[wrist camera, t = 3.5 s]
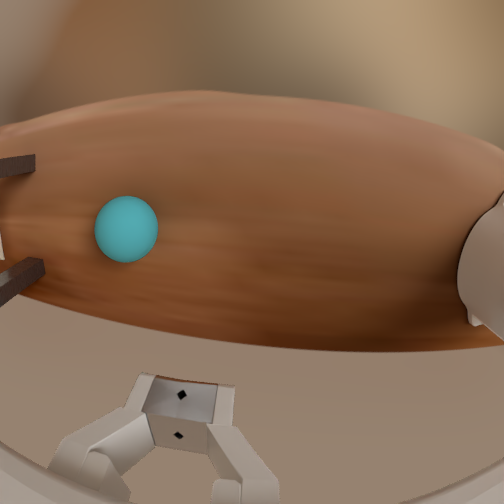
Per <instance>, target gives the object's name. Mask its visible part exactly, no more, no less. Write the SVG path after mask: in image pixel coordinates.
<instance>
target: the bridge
mask: <svg viewBox="0 0 504 504" xmlns="http://www.w3.org/2000/svg"><path fill="white" fill-rule="evenodd" d="M32 171H35V154H33V155H25V156H17V157H10V158H3V159H0V178H4V177H8V176H13V175H17V174H22V173H27V172H32ZM44 274H45V269H44V263H43V259H38V258H32V257H27V258H25V259H24V260H22V261H20V262H19V263H17V264H15V265H14V266H12V267H11V268H9V269H7V270H6V271H4V272H3V273H1V274H0V307H1V306H2V305H4V304H5V303H6V302H8V301H9V300H10V299H12V298H13V297H14V296H16V295H17V294H18V293H20V292H21V291H22V290H24V289H25V288H26V287H28V286H29V285H30V284H32V283H33V282H34V281H36V280H37V279H39V278H40V277H42V276H43V275H44Z"/></svg>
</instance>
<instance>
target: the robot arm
mask: <svg viewBox="0 0 504 504" xmlns="http://www.w3.org/2000/svg"><path fill="white" fill-rule="evenodd" d="M457 285H458V292H459V295H460V298H461V300H462V302H463V303H464V305H465V306H466V308H467V311H468V321H469V323H470V324H472V325H473V326H478V325H481V324H484V325H485V326H486V327H487V328H489V329H490V330H491V331H492V332H493V333H495V334H496V335H497V336H498V337H500V338H501V339H502V340H503V341H504V193H503V195H502V196H501V198H500V200H499V201H498V203H497V205H496V206H495V207H493V208H492V209H491V210H489V211H488V212H487V213H485V214H484V215H483V216H482V217H481V218H480V219H479V221H478V222H477V223H476V225H475V226H474V227H473V229H472V231H471V232H470V234H469V236H468V238H467V240H466V243H465V245H464V248H463V251H462V254H461V257H460V261H459V267H458V275H457ZM234 396H235V385H225V384H214V383H205V382H197V381H188V380H187V381H186V380H180V379H174V378H169V377H164V376H159V375H153V374H148V373H143V372H142V373H141V374H139V376H138V378H137V380H136V382H135V384H134V386H133V388H132V390H131V393H130V395H129V397H128V399H127V401H126V403H125V406H124V408H123V407H118V408H116V409H115V410H113V411H111V412H109V413H108V414H106V415H104V416H102V417H101V418H99V419H97V420H95V421H93V422H92V423H90V424H88V425H86V426H84V427H83V428H81V429H79V430H77V431H75V432H73V433H71V434H70V435H68V436H66V437H64V438H63V440H62V441H61V443H60V445H59V447H58V449H57V451H56V453H55V455H54V457H53V458H52V461H51V462H50V464H49V466H48V468H47V469H46V468H44V467H42V466H41V465H39V464H37V463H35V462H33V461H32V460H30V459H28V458H26V457H25V456H23V455H21V454H20V453H18V452H16V451H15V450H13V449H12V448H10V447H8V446H7V445H5V444H4V443H2V442H1V441H0V504H135V503H132V502H128V501H129V498H130V494H131V491H130V490H129V488H128V487H127V486H126V484H125V483H124V481H123V480H122V478H121V477H120V476H122V475H123V474H124V473H125V472H127V471H128V470H129V469H130V468H131V467H132V466H134V465H135V464H136V463H137V462H139V461H140V460H141V459H142V458H143V457H145V456H146V455H147V454H148V453H149V452H150V451H151V450H153V449H154V448H155V446H160V447H165V448H172V449H177V450H184V451H189V452H195V453H201V454H208V457H209V458H210V460H211V462H212V464H213V466H214V468H215V469H216V471H217V473H218V474H219V476H220V478H221V479H218V480H216V481H215V482H214V483H213V489H212V497H211V504H280V498H279V481H278V479H277V478H276V477H275V476H274V474H273V473H272V472H271V471H270V469H269V468H268V467H267V466H266V465H265V463H264V462H263V461H262V459H261V458H260V457H259V456H258V454H257V453H256V452H255V450H254V449H253V448H252V446H251V445H250V444H249V442H248V441H247V440H246V438H245V437H244V436H243V434H242V433H241V432H240V430H239V429H238V427H237V426H232V423H233V409H234ZM396 504H504V458H502V459H501V460H499V461H497V462H495V463H493V464H491V465H490V466H488V467H486V468H484V469H482V470H480V471H478V472H476V473H474V474H472V475H470V476H468V477H466V478H464V479H462V480H460V481H457V482H455V483H453V484H450V485H448V486H446V487H443V488H441V489H438V490H436V491H433V492H430V493H428V494H425V495H422V496H419V497H416V498H413V499H410V500H407V501H403V502H400V503H396Z"/></svg>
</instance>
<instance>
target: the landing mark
mask: <svg viewBox="0 0 504 504" xmlns="http://www.w3.org/2000/svg"><path fill="white" fill-rule="evenodd" d="M0 259H1V260H5V258H4V253H3V247H2V241H1V234H0Z"/></svg>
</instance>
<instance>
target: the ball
mask: <svg viewBox="0 0 504 504" xmlns="http://www.w3.org/2000/svg"><path fill="white" fill-rule="evenodd" d="M157 234H158V223H157V219H156V216H155V214H154V212H153V210H152V209H151V207H150V206H149V205H148V204H147V203H146V202H144V201H143V200H141V199H139V198H136V197H133V196H121V197H117V198H115V199H113V200H111V201H109V202H108V203H107V204H105V205H104V207H103V208H102V209H101V210H100V212H99V214H98V216H97V218H96V222H95V238H96V241H97V244H98V246H99V248H100V249H101V250H102V252H103V253H104V254H105V255H106V256H108V257H109V258H111V259H113V260H115V261H118V262H133V261H136V260H139V259H141V258H142V257H144V256H145V255H146V254H148V252H149V251H150V250H151V249H152V247H153V246H154V244H155V242H156V239H157Z"/></svg>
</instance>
